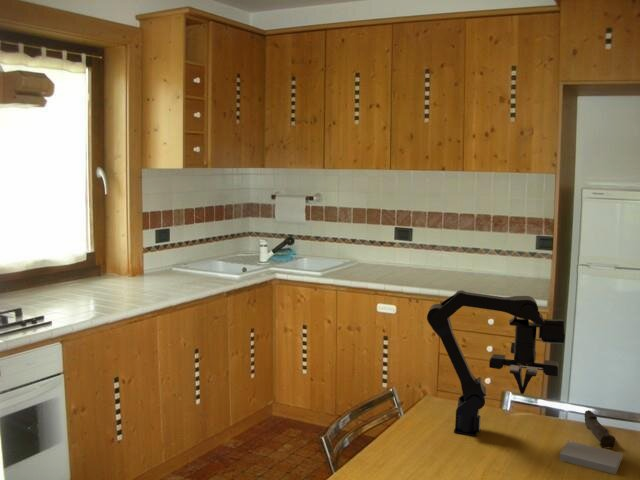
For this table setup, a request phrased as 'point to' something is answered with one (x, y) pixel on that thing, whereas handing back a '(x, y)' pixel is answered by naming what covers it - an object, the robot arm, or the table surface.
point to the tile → (591, 457)
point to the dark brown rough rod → (598, 430)
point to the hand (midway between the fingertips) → (522, 393)
